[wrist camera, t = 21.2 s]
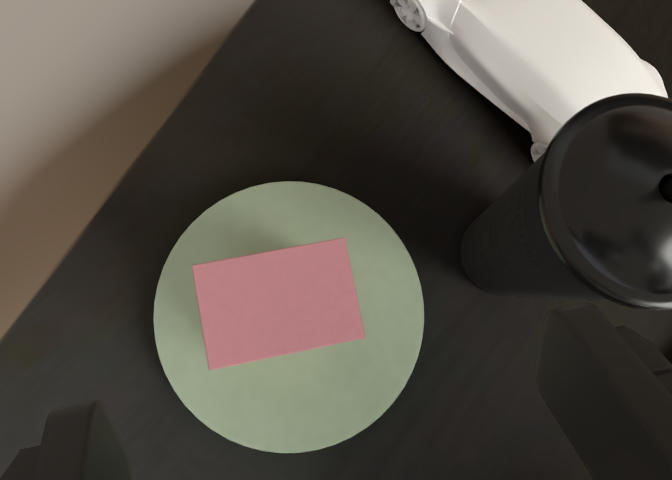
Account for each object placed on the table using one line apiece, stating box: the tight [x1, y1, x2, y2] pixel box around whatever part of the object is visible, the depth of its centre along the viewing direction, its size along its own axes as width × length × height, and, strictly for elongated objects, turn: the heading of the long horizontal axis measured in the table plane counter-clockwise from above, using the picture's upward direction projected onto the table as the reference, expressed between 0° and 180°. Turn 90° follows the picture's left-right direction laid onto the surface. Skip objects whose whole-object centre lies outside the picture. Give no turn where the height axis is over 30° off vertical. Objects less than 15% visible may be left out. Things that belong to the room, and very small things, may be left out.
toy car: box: [390, 0, 668, 162], centre depth 33 cm, size 18×8×4 cm, turn 42°
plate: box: [153, 181, 424, 453], centre depth 31 cm, size 14×14×2 cm
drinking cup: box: [460, 93, 672, 310], centre depth 23 cm, size 8×8×20 cm
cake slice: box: [192, 237, 365, 370], centre depth 26 cm, size 4×6×8 cm, turn 101°
